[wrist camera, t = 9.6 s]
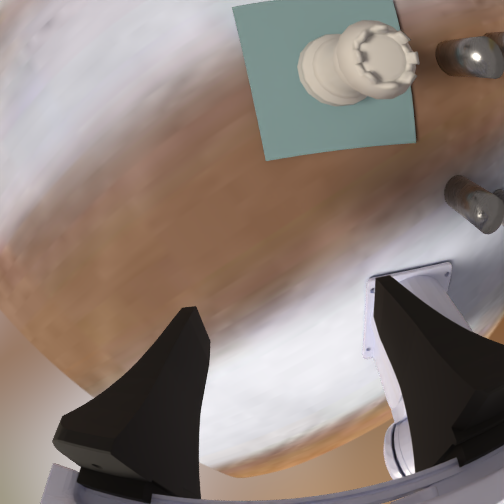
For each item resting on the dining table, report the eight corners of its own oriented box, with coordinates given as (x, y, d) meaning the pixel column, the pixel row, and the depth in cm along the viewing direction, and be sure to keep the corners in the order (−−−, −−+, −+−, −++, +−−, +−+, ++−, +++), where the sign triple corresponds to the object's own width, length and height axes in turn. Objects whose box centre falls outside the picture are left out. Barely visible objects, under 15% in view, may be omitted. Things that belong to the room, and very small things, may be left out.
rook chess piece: (296, 33, 14) (324, -11, 7) (369, 42, 13) (439, 18, 6) (295, 103, 16) (324, 109, 9) (368, 110, 16) (438, 126, 9)
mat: (413, 141, 17) (416, 142, 16) (265, 159, 18) (265, 160, 18) (389, 0, 12) (392, -2, 12) (232, 9, 13) (232, 7, 13)
